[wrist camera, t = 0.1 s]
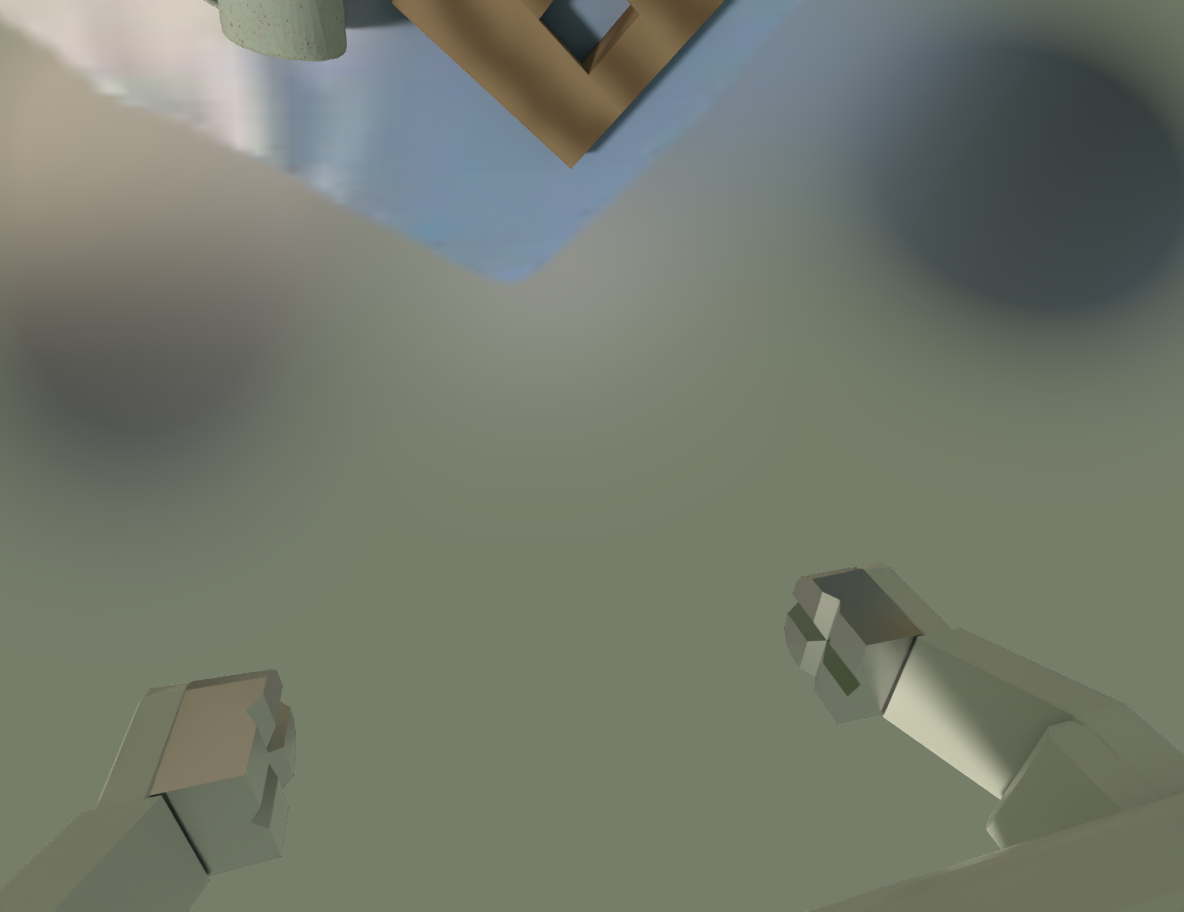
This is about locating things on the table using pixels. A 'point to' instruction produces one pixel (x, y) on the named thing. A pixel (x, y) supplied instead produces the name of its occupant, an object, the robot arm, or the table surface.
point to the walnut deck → (558, 60)
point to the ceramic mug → (286, 27)
